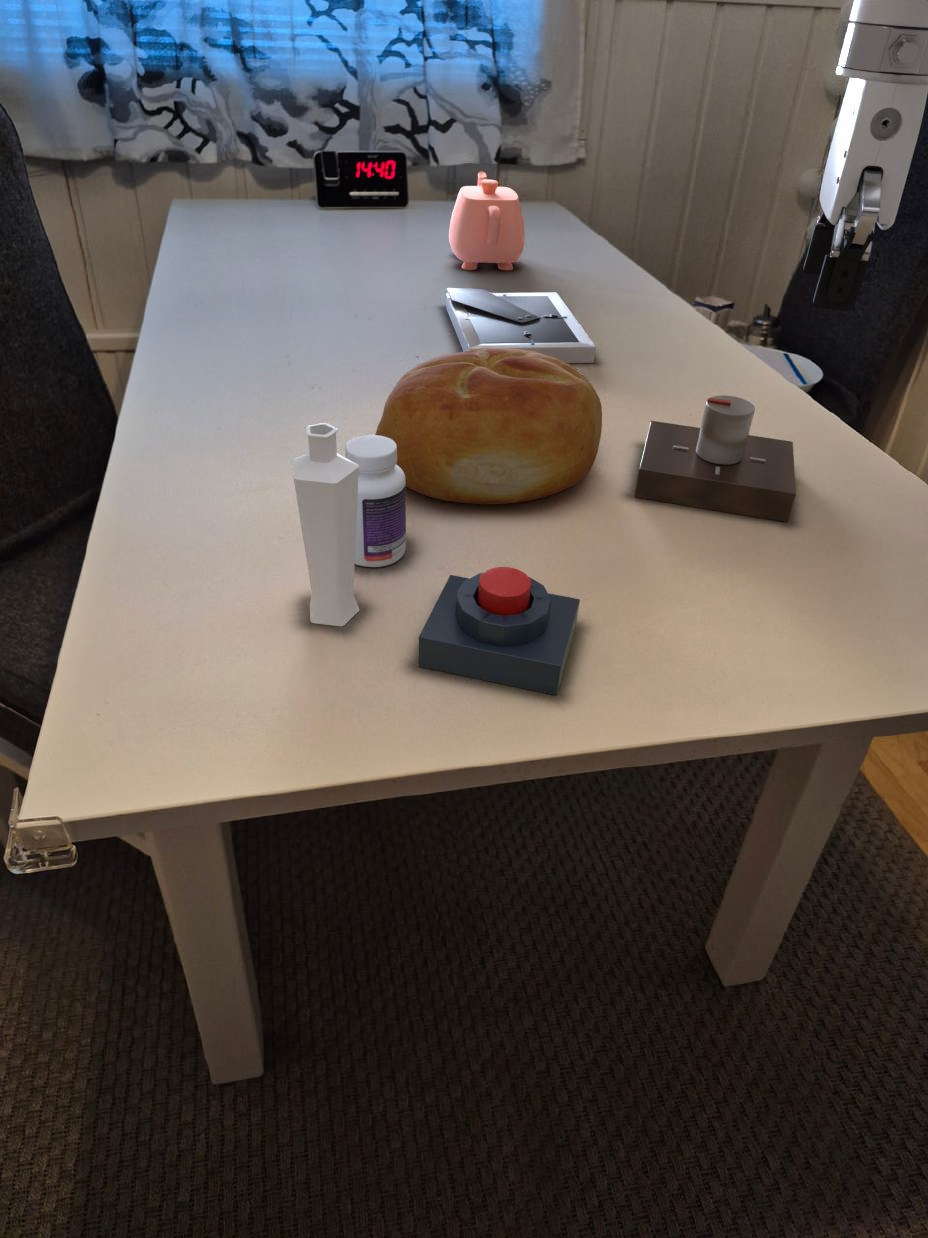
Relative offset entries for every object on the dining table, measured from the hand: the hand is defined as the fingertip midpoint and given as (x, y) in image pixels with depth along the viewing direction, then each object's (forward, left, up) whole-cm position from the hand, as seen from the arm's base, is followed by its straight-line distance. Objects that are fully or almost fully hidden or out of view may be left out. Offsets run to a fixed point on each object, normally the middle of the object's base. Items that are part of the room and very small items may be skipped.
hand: (826, 290), depth 76 cm
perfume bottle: (+33, +34, -18) cm, 50 cm away
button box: (+20, +34, -18) cm, 43 cm away
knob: (+6, +3, -15) cm, 16 cm away
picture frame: (+33, -30, -18) cm, 48 cm away
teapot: (+45, -61, -18) cm, 78 cm away
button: (+20, +34, -14) cm, 41 cm away
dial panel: (+6, +3, -18) cm, 19 cm away
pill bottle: (+33, +25, -18) cm, 45 cm away
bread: (+28, +6, -18) cm, 34 cm away
